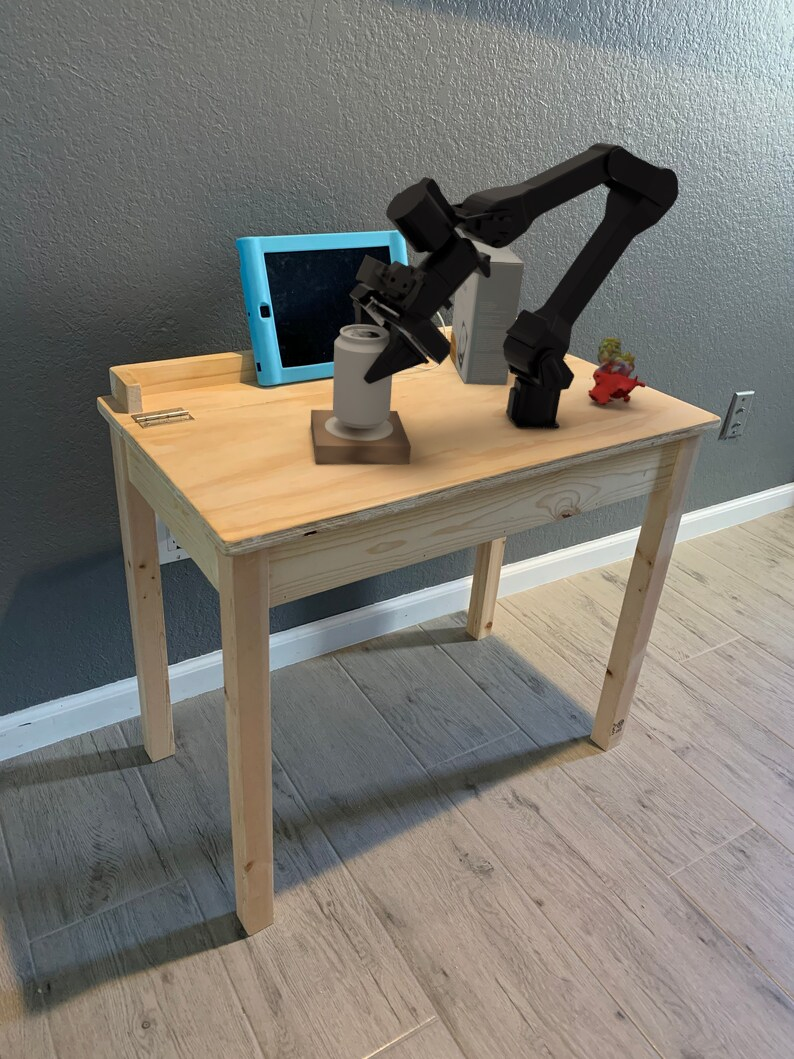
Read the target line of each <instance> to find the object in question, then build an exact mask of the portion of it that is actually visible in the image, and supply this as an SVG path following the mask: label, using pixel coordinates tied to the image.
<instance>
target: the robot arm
mask: <svg viewBox="0 0 794 1059" xmlns="http://www.w3.org/2000/svg"><path fill="white" fill-rule="evenodd" d="M601 185H602V186H604V187H605V188H607V189H608V190H609V192H608V193H607V194H606V199H605V200H606V201H605V210H604V217H603V218H602V220H601V221H600V223H599V224H598V226H597V227H596V229H595V230H594V232H593V233H592V234H591V236H590V238H589V239H588V241H587V242H586V244H585V245H584V246H583V247H582V250H580V252H579V253H578V255H576V258H575V259H574V261H573V262H572V263H571V266H569V268H568V269H567V271H566V273H565V274H564V275H563V277H562V278H561V280H560V281H559V282H558V284H557V286H555V288H554V290H553V292H551V294H550V296H549V297H547V298H548V299H547V300H546V301H545V303H544V304H543V305H542V306H541V307H540V308H537V309H536V310H535V311H533V312H532V311H530V310H527V309H522V310H521V311H520V312H519V313H518V314H517V317H516V321H515V323H514V324H513V325H512V327H511V328H510V329H508V330H507V331H506V334H508V336H507V337H506V339H505V341H504V344H503V348H504V357H505V360H506V361H507V362H508V366H509V372H508V373H509V374H512V375H514V376H515V377H514V383H513V386H511V387H510V388H509V393H508V394H509V395H508V402H507V407H506V412H505V413H506V414H507V415H508V417H509V419H510V420H511V421H512V423H513V424H514V426H515V427H516V428H519V429H559V428H560V424H559V423H558V421H557V417H558V416H557V415H558V410H559V405H560V400H561V399H560V398H561V393H562V391H563V390H565V391H566V390H569V388H570V387H571V385H572V383H573V381H574V378H575V374H574V372H573V371H572V370H571V368H570V367H569V365H568V364H567V362H566V361H565V360H564V359H565V357H566V354H567V353H568V351H569V349H570V344H571V337H572V329H573V326H574V324H575V323H576V322H577V319H578V318H579V317H580V315H581V314H582V313H583V311H584V310H585V308H586V307H587V305H588V304H589V303H590V301H591V299H592V298H593V297H594V295H595V294H596V293H597V291H598V289H599V288H600V287H601V286H602V284H603V282H604V281H605V279H607V277H608V275H609V274H610V273H611V271H612V270H613V268H614V267H615V266H616V264H617V262H618V261H619V259H621V257H622V255H623V254H624V253H625V251H626V250H627V248H628V247H629V246H630V244H631V242H633V240H634V238H635V237H637V236H639V235H640V234H642V233H643V232H645V231H647V230H648V229H651V228H652V227H654V226H655V225H656V224H658V223H659V222H660V220H662V218H663V217H664V216H665V215H666V214H667V213H668V211H670V209H671V208H672V207H673V206H674V205H675V203H676V201H677V199H678V196H679V194H680V193H679V180H678V176H677V173H676V172H675V171H674V170H673V169H672V168H668V167H663V166H657V165H654V164H652V163H651V162H648V161H646V160H645V159H642V158H640V157H638V156H636V155H634V154H633V153H631V152H630V151H629V150H627V149H626V148H625V147H623V146H622V145H618V144H613V143H607V142H600V141H599V142H597V143H594V144H592V145H590V146H589V147H587V149H586V150H584V151H582V152H580V153H578V154H576V155H574V156H573V157H570V158H568V159H566V160H564V161H561V162H560V163H558V164H556V165H554V166H552V167H550V168H548V169H546V170H544V171H542V172H540V173H538V174H536V175H534V176H532V177H530V178H528V179H526V180H524V181H521V182H520V183H516V184H513V185H503V186H495V187H491V188H487V189H484V190H479V191H476V192H474V193H470V195H468V196H467V197H466V198H465V199H464V200H463V201H462V202H457V203H452V204H450V202H449V201H448V200H447V198H446V197H445V196H444V194H443V193H442V190H441V188H440V186H439V184H438V183H437V182H436V180H435V179H434V178H430V177H428V176H423V177H422V179H421V180H420V181H419V182H418V183H414V184H413V185H410V186H408V187H407V188H405V189H404V190H402V191H401V192H398V193H397V194H396V195H395V196H393V198H392V200H391V201H390V202H389V204H388V206H387V208H386V211H385V216H386V218H387V219H388V220H389V222H391V224H392V225H393V226H394V228H395V229H396V230H397V232H398V233H399V234H400V236H402V238H403V239H404V241H405V242H407V244H408V245H409V246H410V248H411V249H412V250H413V251H414V253H417V254H423V253H427V254H426V255H425V256H424V258H422V260H421V261H420V262H418V264H417V266H414V265H411V264H409V265H407V264H404V263H402V262H400V261H398V260H395V261H393V262H391V264H389V265H388V264H386V263H384V262H382V261H380V260H378V259H375V258H374V257H371V256H369V254H368V255H367V254H365V257H364V258H363V260H362V263H361V265H360V267H359V270H358V271H357V273H356V277H355V279H356V281H360V282H361V283H357V285H356V286H355V287H354V288H353V289H352V291H351V292H350V293H349V296H350V298H351V299H353V303H352V306H353V308H354V315H355V321H354V322H353V325H358V324H361V325H374V326H378V327H382V328H384V329H386V330H388V329H390V331H389V333H390V335H389V338H390V340H389V343H388V345H387V346H386V347H385V349H384V350H383V351H382V353H381V354H380V355H379V357H378V358H377V359H376V361H375V362H374V363H373V365H372V366H371V367H370V369H369V370H368V372H367V373H366V375H365V376H364V380H365V381H366V382H367V383H368V384H372V383H374V382H376V381H379V380H381V379H383V378H386V377H388V376H391V375H392V376H393V375H395V374H398V373H400V372H402V371H406V370H408V369H411V368H414V367H417V366H419V365H423V364H425V365H428V364H429V363H430V360H431V361H433V362H434V363H435V364H437V365H439V366H441V364H442V363H443V362H444V361H445V360H446V359H447V358H448V356H450V348H451V343H450V342H451V341H449V339H448V338H447V337H446V335H445V334H443V332H442V331H441V330H440V329H439V328H438V327H437V325H436V324H435V322H434V321H432V319H433V317H434V316H435V315H436V314H437V313H438V312H439V311H440V310H441V308H442V309H444V310H446V311H449V310H450V309H451V308H452V306H454V303H453V302H452V301H451V300H450V299H451V297H452V296H454V295H455V293H456V291H457V290H458V289H459V288H460V286H461V285H462V284H463V283H464V282H465V281H466V280H467V279H468V278H469V276H470V275H471V274H472V273H473V272H474V273H477V274H479V275H481V276H483V277H485V278H489V277H490V276H491V268H490V260H491V256H490V255H488V254H486V253H483V252H479V251H478V249H477V248H476V247H475V245H474V244H473V242H472V241H477V242H479V243H482V244H485V245H487V246H490V247H493V248H503V247H508V246H510V245H511V244H512V243H514V242H515V241H517V239H519V238H520V237H521V236H523V235H524V234H525V233H527V232H528V231H529V229H530V227H531V226H532V224H533V223H534V222H535V220H537V219H538V218H539V217H541V216H542V215H543V214H545V213H548V212H550V211H552V210H553V209H556V208H558V207H559V206H561V205H563V204H565V203H567V202H569V201H571V200H573V199H575V198H577V197H579V196H580V195H583V194H585V193H587V192H588V191H590V190H592V189H594V188H596V187H598V186H601ZM456 229H458V230H460V231H461V233H462V234H463V235H464V236H465V237H462V236H460V234H459V233H458V232H457V230H456ZM428 358H429V359H428Z"/></svg>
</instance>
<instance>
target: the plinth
mask: <svg viewBox="0 0 794 1059" xmlns="http://www.w3.org/2000/svg"><path fill="white" fill-rule="evenodd" d="M310 430H311V436H312V438H311V439H312V445H313V452H314V453H313V454H314V459H315V460H314V461H315V464H316V465H410V461H411V459H410V458H411V451H412V450H411V448H412V447H411V446H412V445H411V443H410V441H409V438H408V435H407V433H406V430H405V427H404V425H403V423H402V420H401V417H400V415H399V412H398V410H390V416H389V418H388V419H387V420H385V421H384V422H383V423H382V424H381V425H379V426H377V427H374V428H353V427H349V426H346V425H344V424H342V423H341V422H340V421H339V420H338V419H337V418H336V417H335V416H334V415H333V409H311V410H310Z"/></svg>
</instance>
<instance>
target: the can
mask: <svg viewBox="0 0 794 1059" xmlns="http://www.w3.org/2000/svg"><path fill="white" fill-rule="evenodd" d="M339 333H340V334H339V336H337V338H336V339H335V340H334V345H333V346H334V348H333V349H334V350H333V351H334V353H333V381H332V382H333V384H332V385H333V387H332V389H333V390H332V410H333V415H334V416H335V417H336V418H337V419H338V420H339V421H340V422H341V423H342V424H344V425H346V426H349V427H353V428H374V427H377V426H379V425H381V424H382V423H383V422H384V421H385V420H387V419H388V418H389V416H390V411H391V405H392V404H391V403H392V402H391V401H392V400H391V399H392V384H393V375H391V376H388V377H386V378H383V379H381V380H379V381H376V382H374V383H372V384H368V383H367V382H366V381H365V380H364V376H365V375H366V373H367V372H368V370H369V369H370V367H371V366H372V365H373V363H374V362H375V361H376V359H377V358H378V357H379V355H380V354H381V353H382V351H383V350H384V349H385V347H386V346H387V345H388V343H389V340H390V331H389V330H388V329H384V328H382V327H378V326H374V325H361V324H358V325H354V324H351V325H345V326H343V327H341V328H340V330H339Z"/></svg>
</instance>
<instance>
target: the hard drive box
mask: <svg viewBox="0 0 794 1059" xmlns="http://www.w3.org/2000/svg"><path fill="white" fill-rule="evenodd" d="M471 241H472V242H473V244H474V245H475V247H476V248H477V249H478V251H479V252H483V253H486V254H488V255H490V256H491V260H490V268H491V276H490V277H489V278H485V277H483V276H481V275H479V274H477V273H474V272H473V273H472V274H471V275H470V276H469V278H468V279H467V280H466V281H465V282H464V283H463V284H462V285H461V286H460V288H459V289H458V290H457V291H456V292H455V293H454V295H455V297H454V302H453V314H452V322H451V324H452V325H451V334H450V341H449V342H450V343H451V348H450V354H449V356H450V357H451V360H452V362H453V364H454V366H455V368H456V370H457V372H458V374H459V377H460V378H461V380H462V382H463V384H466V385H468V384H471V385H505V386H506V385H507V383H508V377H509V373H510V372H509V366H508V362H507V361H506V360H505V357H504V348H503V344H504V341H505V339H506V337H507V336H508V334H506V331H507V330H508V329H510V328H511V327H512V325H513V324H514V323H515V321H516V319H517V317H518V308H519V304H520V303H519V302H520V294H521V287H522V281H523V274H524V268H525V263H524V262H523V261H522V260H521V259H520V258H519V257H518V256H517V255H516V254H515V253H514V252H512V250H510V249H509V247H508V246H506V247H503V248H493V247H490V246H487V245H485V244H482V243H479V242H477V241H474V240H471Z"/></svg>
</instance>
